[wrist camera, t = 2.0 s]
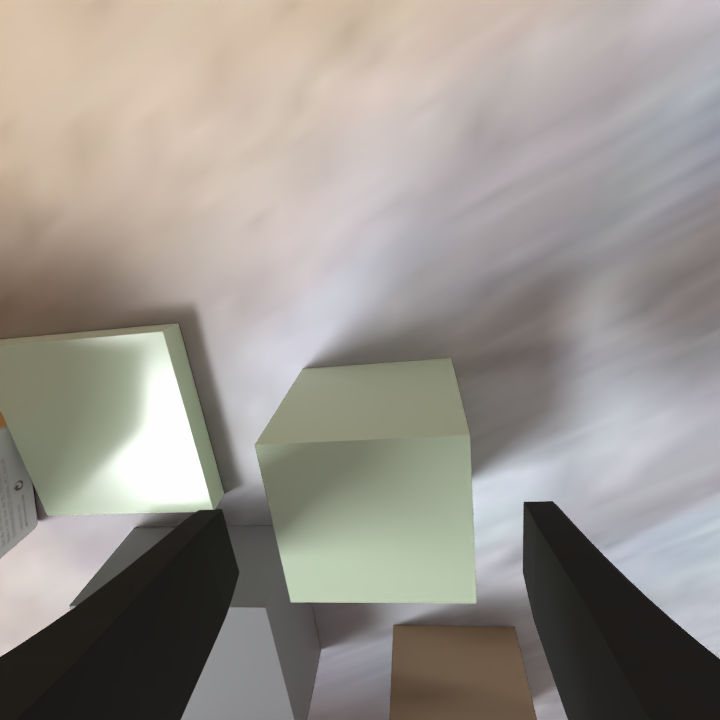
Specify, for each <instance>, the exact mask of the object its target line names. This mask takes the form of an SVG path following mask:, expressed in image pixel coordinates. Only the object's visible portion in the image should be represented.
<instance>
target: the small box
mask: <svg viewBox="0 0 720 720" xmlns="http://www.w3.org/2000/svg"><path fill="white" fill-rule="evenodd" d="M37 523H38V521H37V513H36V507H35V498H34V491H33V483H32V480H31V478H30V476H29V473H28V471H27V469H26V467H25V464H24V462H23V460H22V458H21V455H20V453H19V451H18V449H17V446H16V444H15V442H14V440H13V437H12V435H11V433H10V431H9V428H8V426H7V424H6V422H5V419H4V417H3V415H2V413H1V412H0V558H2V557H3V556H4V555H5V554H6V553H7V552H8V551H10V550H11V549H12V548H13V547H14V546H15V545H17V544H18V543H19V542H20V541H21V540H22V539H23V538H25V537H26V536H27V535H28V534H29V533H30V532H31V531H32V530H34V529H35V528H36V526H37Z"/></svg>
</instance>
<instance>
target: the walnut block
mask: <svg viewBox="0 0 720 720" xmlns="http://www.w3.org/2000/svg"><path fill="white" fill-rule="evenodd" d="M390 720H537V718H536V714H535V710H534V706H533V702H532V697H531V693H530V689H529V685H528V681H527V677H526V672H525V668H524V664H523V660H522V656H521V652H520V647H519V643H518V639H517V635H516V631H515V627H490V626H417V625H393V649H392V674H391V699H390Z"/></svg>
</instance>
